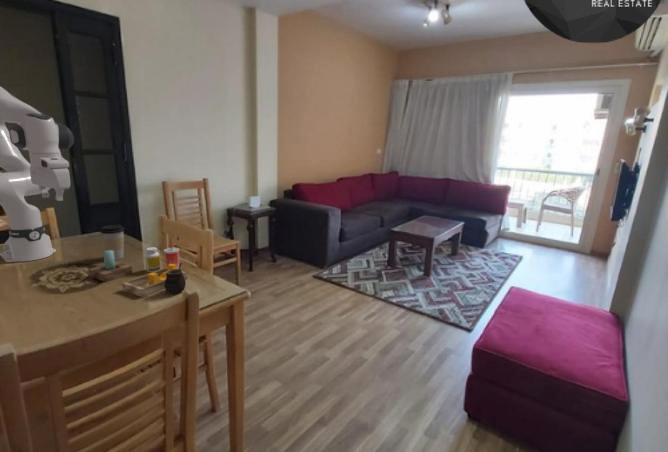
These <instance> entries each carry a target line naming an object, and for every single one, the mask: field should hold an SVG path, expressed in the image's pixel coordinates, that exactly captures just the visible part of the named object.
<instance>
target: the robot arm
mask: <svg viewBox="0 0 668 452" xmlns="http://www.w3.org/2000/svg"><path fill="white" fill-rule="evenodd" d="M6 123H10V124H11V123H12V124H13V125H12V126H11V127H10V128H9V129H8V128H7V126H6ZM74 142H75V137H74V134H73V132H72V131H71V129H70V128H69V127H67V126H66V125H65V124H63V123H58V122H57V121H55V120H54V118H53V117H52V116H50V115H48V114H45V113H44V112H42V111H41V110H40V109H38V108H36V107H35V106H32V105H29V104H28V103H25V102H23V101H22V100H20V99H19V98H17V97H16V96H15V95H14V94H13V93H11V92H8V91H7V90H6V89H5V88H3V87H2V86H0V168H1V169H3V170H5V172H0V206H1V207H2V208H3V210H4V211H5V214H6V217H7V221H8V224H9V229H8V235H9V237H8V239H7V240H6V241H5V242H4V245H3V244H2V245H1V250H2V252H0V257H1V258H2V259H3V261H4V262H5V263H14V262H15V263H16V262H17V263H18V262H31V261H37V260H41V259H45V258H47V257H50V256H51V255H53V253H56V252H57V249H56V248H53V246H52V242H51V238H50V236H49V235H48V234H46V229H45V226H44V225H43V222H42V220H43V219H42V215H41V211H40V209H39V208H38V207H37V206H35V205H33V204H30V203H28V202H27V201H26V199H25V197H28V196H34V195H40V194H41V196H42V198H44V199H45V198H47V199H48V198H50V192H49V191H50V190H51V189H54V191H55V195H54V198H55V201H59V202H63V201H64V193H65V190H69V189H70V187H71V177H70V176H71V175H70V171H69V169H68V168H69V167H70V163H69V161H68V160H67V159H65V158H64V157H63V156H62V153H61V151H62V152H63V151H64V152H66V151H67V150H69V149H70V148H72V146H73V145H74ZM20 150H24V151H28V155H29V160H30V162H29V161H28V160H27V159H26V158H25V157H24V156H23V154H22V153H21V151H20Z"/></svg>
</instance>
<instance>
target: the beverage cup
mask: <svg viewBox="0 0 668 452" xmlns="http://www.w3.org/2000/svg"><path fill="white" fill-rule="evenodd" d="M169 242H170V243H169V244H170V247H167V248H164V249H163V253H164V257H165V264H166V267H168V265H169V264H176V266H177V269H178V268H179V266H180V253H179V252H180V248H179V247H173V246H172V245H173V244H172V238H169Z"/></svg>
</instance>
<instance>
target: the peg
mask: <svg viewBox="0 0 668 452" xmlns="http://www.w3.org/2000/svg"><path fill="white" fill-rule="evenodd" d="M102 254H103V262H104V263H103V264H104V265H105V270H107V271H109V270H112V269H116V267H115V259H114V251H113V250H104V251H102Z"/></svg>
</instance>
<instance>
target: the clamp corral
mask: <svg viewBox="0 0 668 452" xmlns="http://www.w3.org/2000/svg"><path fill="white" fill-rule="evenodd" d="M167 268H168V267H167V266H166V267H164V268H160V270H157V271H154V272H148V273H146V274H144V275H140V276H138V277H135V278H133V279H129V280H126V281H124V282H122V283H121V286H122V291H123V292H126V293H130V294H131V295H135V296H138V297H139V298H145V297H148V296H150V295H152V294H154V293H157V292H160V291H162V290H164V289H165V286H164V284H165V280H166V279H165V280H162V281H159V282H157V283H154V284H152V285H149V280H148V274H150V273H158V277H159V276H160V275H161V274H162V273H164V272H166V271H167ZM182 275H183V277H184V279H185V281H186V280H188V273H187V272H186V271H184V270H182ZM146 284H148V285H146ZM142 285H146V286H144V287H141V286H142ZM165 290H166V289H165Z"/></svg>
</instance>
